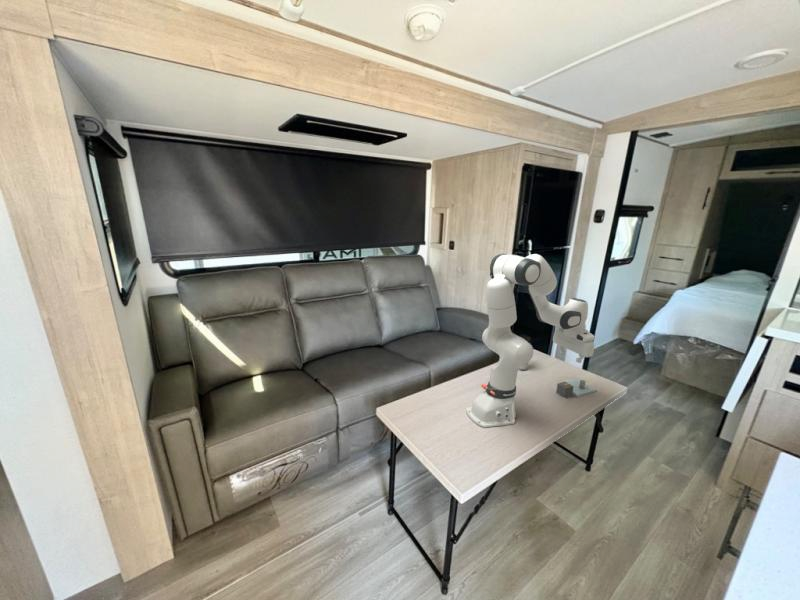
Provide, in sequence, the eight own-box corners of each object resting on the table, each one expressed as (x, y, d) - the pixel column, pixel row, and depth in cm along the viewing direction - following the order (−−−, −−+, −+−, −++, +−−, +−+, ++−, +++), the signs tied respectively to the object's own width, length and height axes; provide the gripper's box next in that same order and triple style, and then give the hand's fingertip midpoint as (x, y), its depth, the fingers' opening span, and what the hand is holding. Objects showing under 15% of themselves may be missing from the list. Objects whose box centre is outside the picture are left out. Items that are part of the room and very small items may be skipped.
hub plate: (576, 396, 156) (578, 387, 155) (557, 385, 167) (558, 376, 165) (596, 391, 161) (598, 382, 160) (576, 380, 172) (577, 372, 170)
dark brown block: (564, 398, 155) (566, 387, 153) (556, 392, 159) (557, 382, 158) (572, 395, 157) (573, 385, 155) (563, 390, 161) (565, 381, 160)
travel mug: (525, 365, 188) (529, 334, 183) (528, 371, 181) (532, 339, 176) (514, 365, 188) (518, 334, 183) (517, 370, 182) (521, 338, 177)
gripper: (551, 325, 157) (548, 350, 161) (588, 340, 139) (583, 368, 143) (560, 323, 160) (557, 348, 163) (598, 337, 141) (593, 365, 145)
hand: (570, 357), depth 153 cm, fingers open, 8 cm apart
